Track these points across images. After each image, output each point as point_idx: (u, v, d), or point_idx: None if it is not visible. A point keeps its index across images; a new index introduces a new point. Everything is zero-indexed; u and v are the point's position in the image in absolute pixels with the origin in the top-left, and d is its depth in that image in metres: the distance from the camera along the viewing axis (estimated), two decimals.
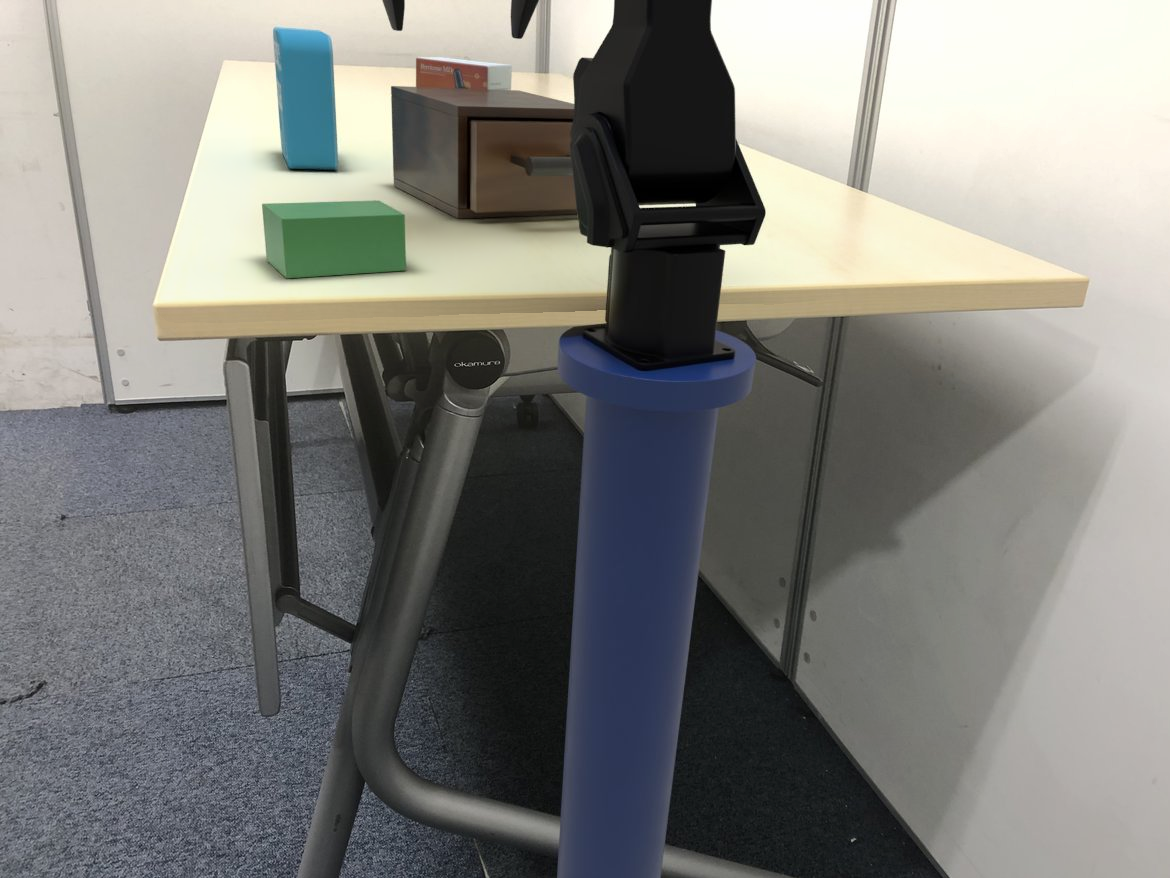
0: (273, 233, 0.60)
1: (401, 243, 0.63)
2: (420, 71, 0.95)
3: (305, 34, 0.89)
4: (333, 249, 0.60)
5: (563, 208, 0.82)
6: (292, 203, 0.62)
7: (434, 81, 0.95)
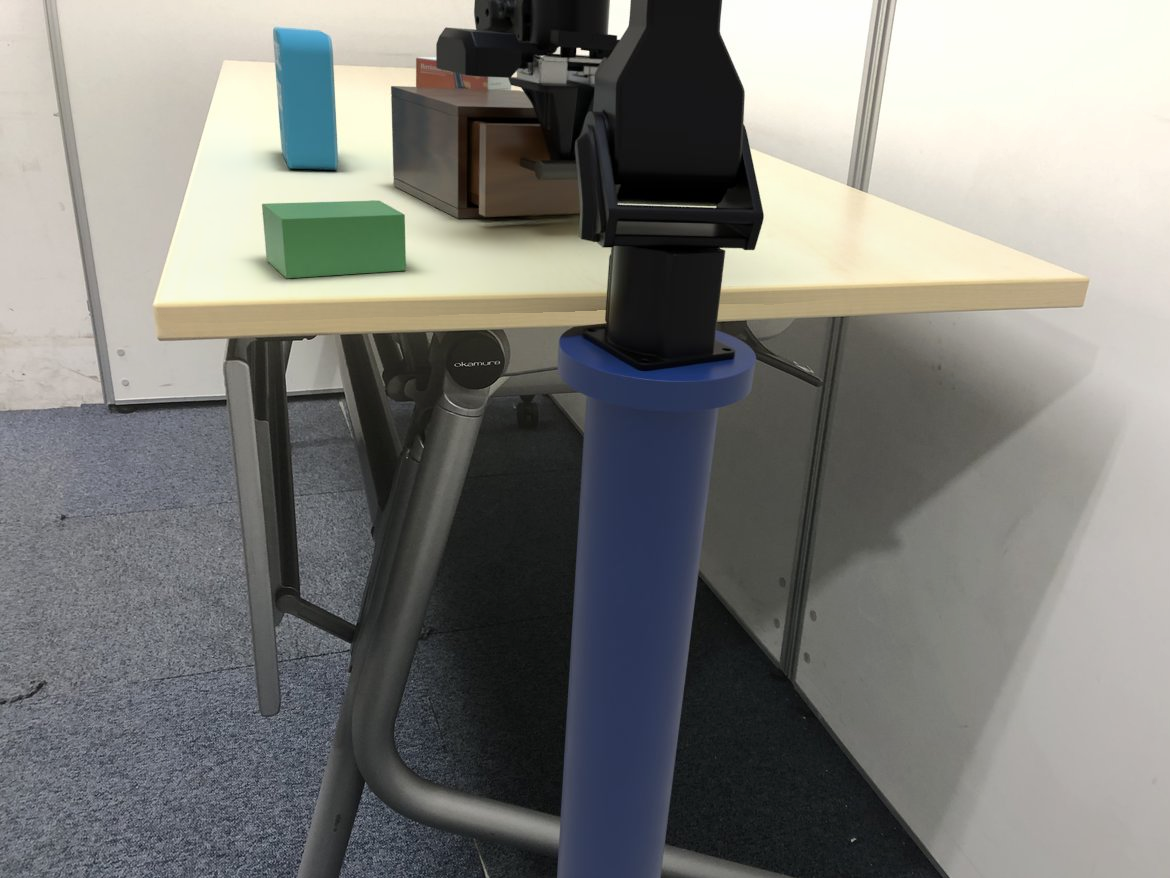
0: (273, 233, 0.60)
1: (401, 243, 0.63)
2: (420, 71, 0.95)
3: (305, 34, 0.89)
4: (333, 249, 0.60)
5: (573, 212, 0.80)
6: (292, 203, 0.62)
7: (434, 81, 0.95)
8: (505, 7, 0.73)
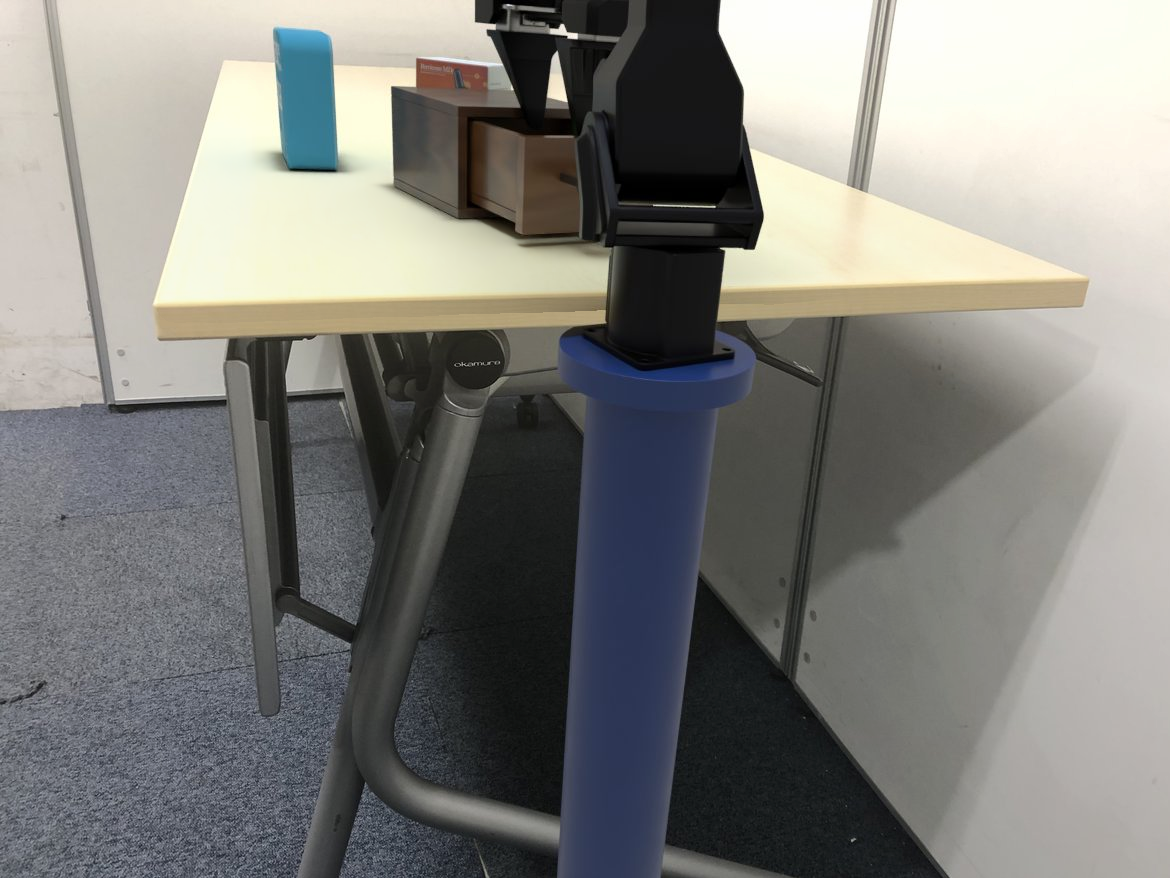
0: None
1: None
2: (420, 71, 0.95)
3: (305, 34, 0.89)
4: None
5: None
6: None
7: (434, 81, 0.95)
8: None
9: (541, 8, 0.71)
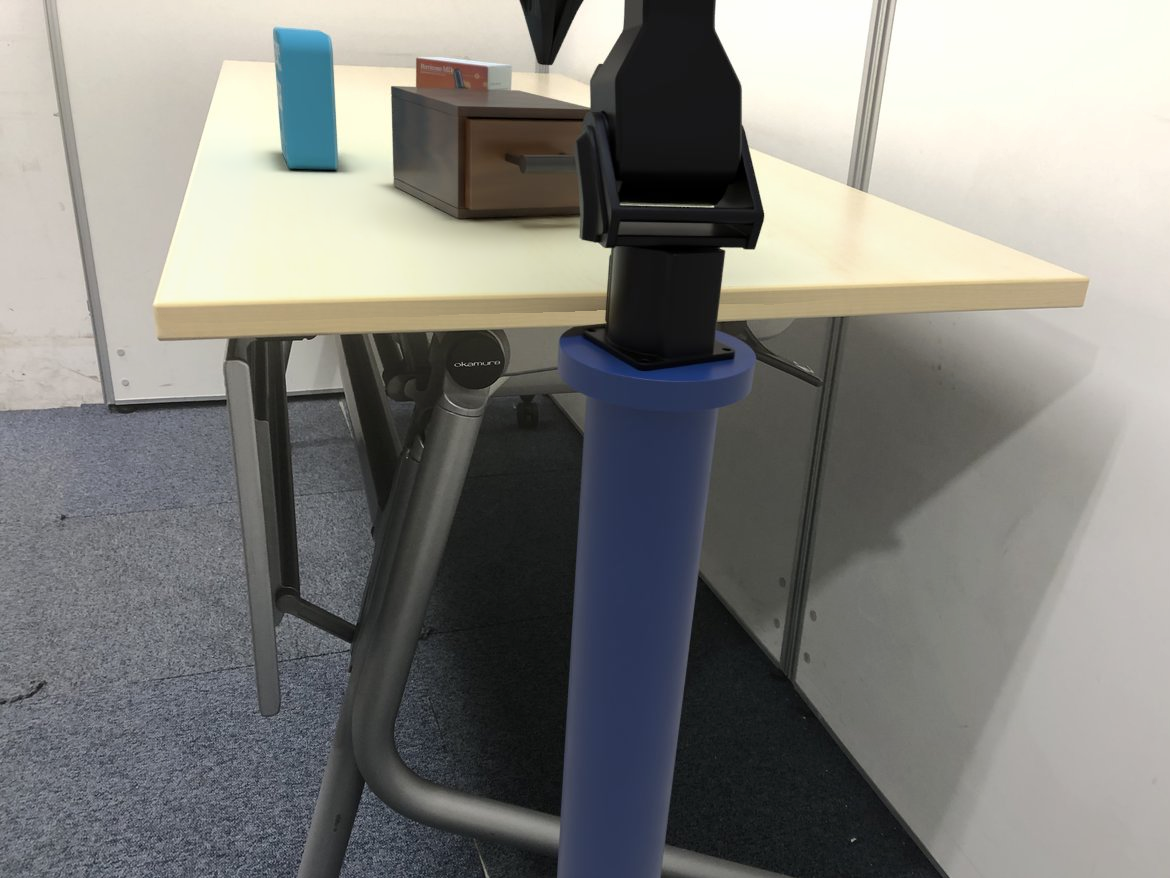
0: None
1: None
2: (420, 71, 0.95)
3: (305, 34, 0.89)
4: None
5: (557, 206, 0.82)
6: None
7: (435, 81, 0.95)
8: None
9: None
